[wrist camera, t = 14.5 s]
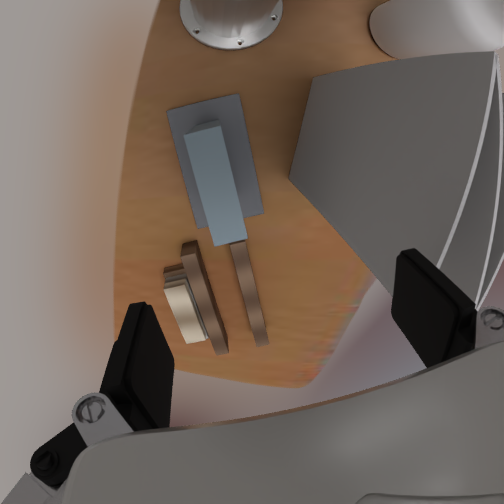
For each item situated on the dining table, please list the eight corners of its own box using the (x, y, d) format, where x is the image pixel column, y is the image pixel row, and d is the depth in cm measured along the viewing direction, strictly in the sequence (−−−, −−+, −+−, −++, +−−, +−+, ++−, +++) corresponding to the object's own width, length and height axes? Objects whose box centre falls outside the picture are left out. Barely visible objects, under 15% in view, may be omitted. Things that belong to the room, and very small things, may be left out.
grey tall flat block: (326, 187, 42) (471, 322, 15) (288, 179, 41) (409, 320, 14) (351, 89, 36) (546, 102, 10) (313, 77, 35) (494, 51, 9)
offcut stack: (164, 268, 45) (160, 285, 41) (187, 262, 45) (184, 279, 41) (189, 330, 50) (187, 350, 46) (209, 326, 50) (209, 345, 46)
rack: (183, 243, 44) (180, 256, 40) (242, 229, 44) (245, 241, 40) (215, 339, 52) (216, 355, 48) (265, 328, 52) (269, 344, 48)
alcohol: (372, -5, 30) (536, -68, 3) (422, 22, 32) (590, 3, 5) (360, 44, 34) (548, 8, 7) (412, 69, 35) (595, 80, 9)
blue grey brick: (195, 125, 36) (183, 135, 23) (219, 119, 36) (220, 125, 23) (214, 200, 40) (214, 246, 28) (237, 194, 40) (247, 238, 28)
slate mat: (167, 110, 36) (166, 111, 35) (238, 93, 36) (238, 93, 35) (198, 226, 43) (197, 228, 42) (263, 211, 43) (264, 213, 42)
